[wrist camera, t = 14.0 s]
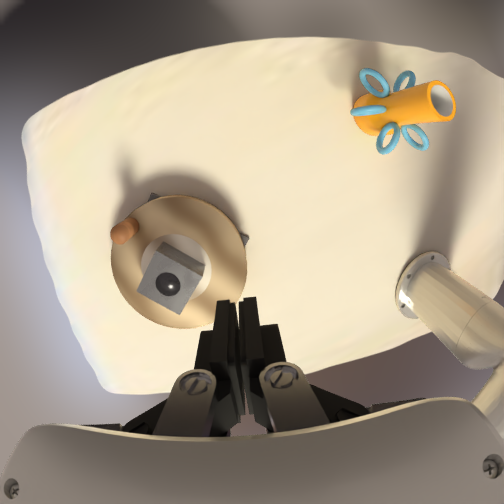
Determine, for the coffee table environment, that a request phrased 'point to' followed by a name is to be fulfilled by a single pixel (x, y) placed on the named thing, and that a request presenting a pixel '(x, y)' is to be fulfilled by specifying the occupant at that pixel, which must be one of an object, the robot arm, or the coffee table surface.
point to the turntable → (189, 242)
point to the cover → (171, 278)
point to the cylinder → (401, 109)
